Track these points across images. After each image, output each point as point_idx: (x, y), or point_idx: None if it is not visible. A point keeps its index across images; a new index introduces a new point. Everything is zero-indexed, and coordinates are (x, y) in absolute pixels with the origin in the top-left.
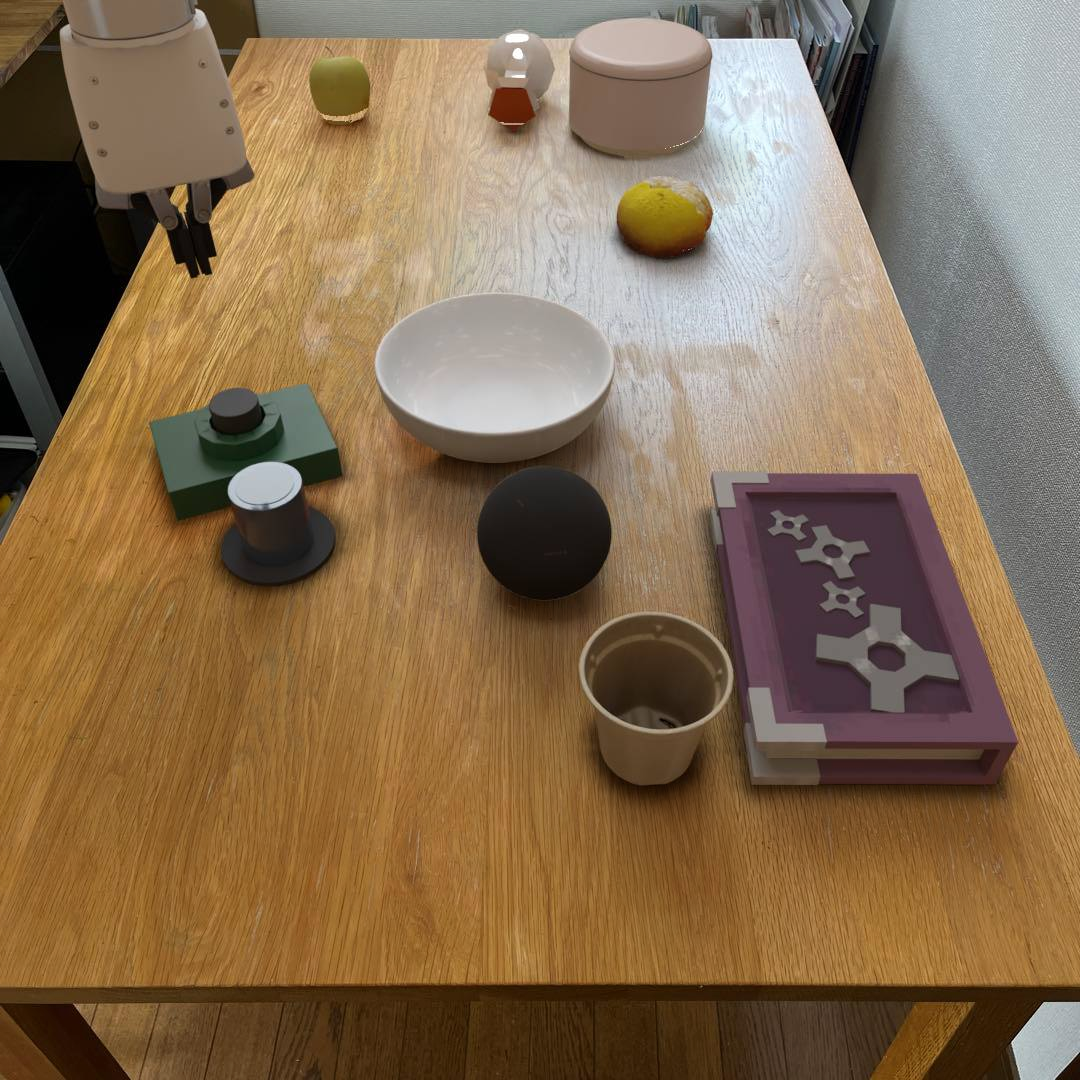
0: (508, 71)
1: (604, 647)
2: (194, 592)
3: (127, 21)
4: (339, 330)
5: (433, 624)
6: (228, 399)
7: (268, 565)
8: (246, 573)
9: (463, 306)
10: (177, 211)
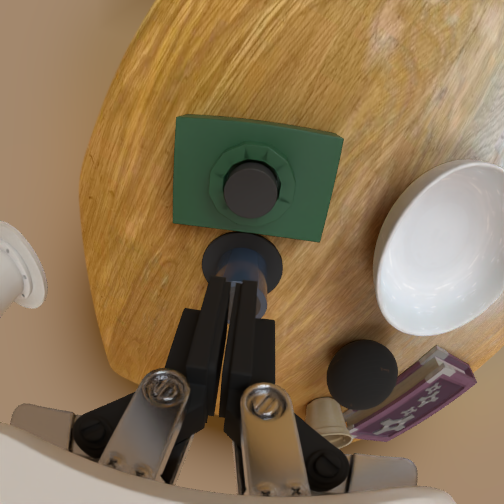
0: None
1: (324, 428)
2: (180, 275)
3: None
4: (408, 39)
5: (293, 348)
6: (247, 187)
7: None
8: None
9: (499, 174)
10: (198, 422)
